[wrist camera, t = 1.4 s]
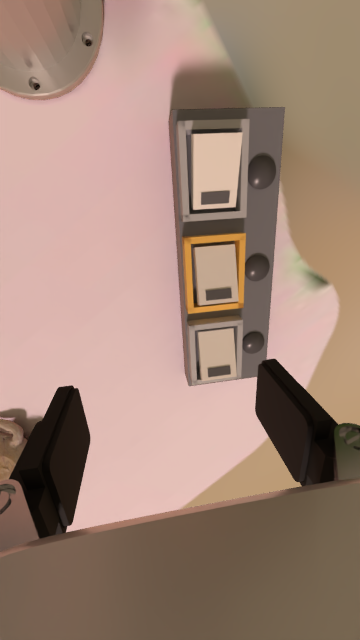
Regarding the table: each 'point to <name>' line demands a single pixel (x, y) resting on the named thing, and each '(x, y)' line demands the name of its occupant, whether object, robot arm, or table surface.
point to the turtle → (10, 447)
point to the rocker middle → (215, 274)
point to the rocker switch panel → (229, 231)
